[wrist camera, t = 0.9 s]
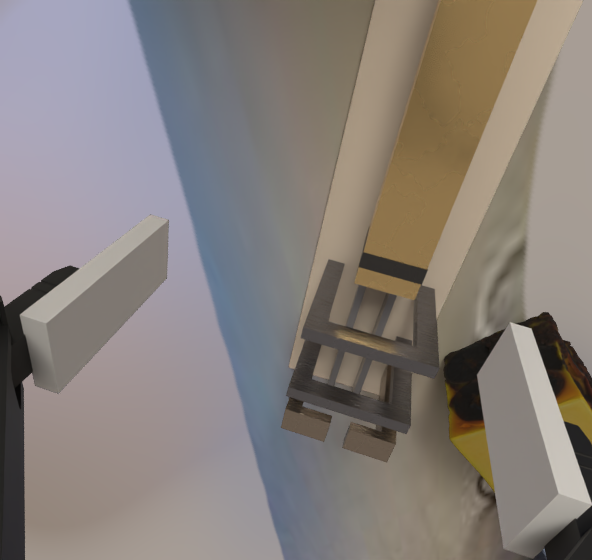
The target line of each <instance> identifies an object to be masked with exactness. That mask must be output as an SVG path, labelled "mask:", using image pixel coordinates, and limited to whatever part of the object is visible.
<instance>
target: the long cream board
mask: <svg viewBox="0 0 592 560" xmlns="http://www.w3.org/2000/svg"><path fill="white" fill-rule="evenodd" d="M582 2H583V0H537V3H536V5H535V7H534V10H533V12H532V15H531V17H530V20H529V22H528V25H527V27H526V29H525V32H524V34H523V37H522V39H521V42H520V44H519V47H518V49H517V51H516V54H515V56H514V59H513V61H512V64H511V66H510V68H509V71H508V73H507V76H506V78H505V81H504V83H503V86H502V88H501V90H500V93H499V95H498V98H497V100H496V103H495V105H494V108H493V110H492V112H491V115H490V117H489V120H488V122H487V125H486V127H485V130H484V132H483V134H482V137H481V139H480V142H479V144H478V147H477V149H476V152H475V154H474V156H473V159H472V161H471V164H470V166H469V169H468V171H467V173H466V176H465V178H464V181H463V183H462V186H461V188H460V191H459V193H458V195H457V198H456V200H455V203H454V205H453V208H452V210H451V213H450V215H449V217H448V220H447V222H446V225H445V227H444V230H443V232H442V235H441V237H440V239H439V242H438V244H437V247H436V249H435V252H434V254H433V257H432V259H431V261H430V264H429V266H428V271H427V274H426V276H425V278H424V281H423V283H422V285H423V286H426V287H430V288H433V289H435V302H436V319H437V318H438V316H439V314H440V312H441V309H442V307H443V305H444V303H445V301H446V299H447V296H448V294H449V292H450V290H451V288H452V285H453V283H454V281H455V279H456V277H457V275H458V272H459V270H460V268H461V266H462V264H463V262H464V259H465V257H466V255H467V253H468V251H469V248H470V246H471V244H472V242H473V240H474V238H475V235H476V233H477V231H478V229H479V227H480V225H481V222H482V220H483V218H484V216H485V214H486V211H487V209H488V207H489V205H490V203H491V201H492V198H493V196H494V194H495V192H496V190H497V188H498V185H499V183H500V181H501V179H502V177H503V174H504V172H505V170H506V168H507V166H508V164H509V161H510V159H511V157H512V155H513V153H514V151H515V148H516V146H517V144H518V142H519V140H520V137H521V135H522V133H523V131H524V129H525V127H526V124H527V122H528V120H529V118H530V116H531V113H532V111H533V109H534V107H535V105H536V103H537V100H538V98H539V96H540V94H541V92H542V90H543V87H544V85H545V83H546V81H547V79H548V76H549V74H550V72H551V70H552V68H553V66H554V63H555V61H556V59H557V57H558V55H559V53H560V50H561V48H562V46H563V44H564V41H565V39H566V37H567V35H568V33H569V31H570V29H571V26H572V24H573V22H574V20H575V18H576V16H577V13H578V11H579V9H580V7H581V4H582ZM437 3H438V0H375V4H374V8H373V12H372V17H371V21H370V25H369V29H368V33H367V38H366V42H365V46H364V50H363V55H362V59H361V63H360V67H359V71H358V76H357V80H356V84H355V88H354V93H353V97H352V101H351V105H350V110H349V114H348V118H347V122H346V126H345V131H344V135H343V139H342V143H341V148H340V152H339V156H338V160H337V164H336V169H335V173H334V177H333V181H332V186H331V190H330V194H329V198H328V203H327V207H326V211H325V215H324V219H323V224H322V228H321V232H320V236H319V241H318V245H317V249H316V253H315V257H314V262H313V266H312V270H311V274H310V279H309V283H308V287H307V291H306V296H305V300H304V304H303V308H302V312H301V317H300V321H299V325H298V329H297V334H296V338H295V342H294V346H293V350H292V355H291V359H290V363H289V368H292V369H295V367H296V364H297V361H298V359H299V356H300V353H301V350H302V347H303V344H304V342H305V339H301V334H302V330H303V326H304V324H305V321H306V318H307V316H308V313H309V310H310V308H311V305H312V302H313V299H314V297H315V294H316V291H317V289H318V286H319V283H320V281H321V278H322V275H323V273H324V270H325V267H326V265H327V262H328V259H330V260H334V261H337V262H341V263H344V264H345V265H344V269H343V272H342V276H341V279H340V282H339V286H338V289H337V293H336V296H335V299H334V303H333V306H332V309H331V313H330V318H329V321H330V322H333V323H336V324H340V325H343V326H347V327H350V328H353V329H357V330H360V331H363V332H367V333H370V334H374V335H377V336H380V337H384V338H387V339H391V340H394V341H395V339H396V336H398V337H402V338H405V339H408V340H412V346H413V313H414V300H411V299H408V298H404V297H401V296H397V295H394V294H390V293H387V292H383V291H380V290H376V289H373V288H369V287H366V286H362V285H358V284H355V283H354V281H355V277H356V273H357V269H358V265H359V261H360V257H361V253H362V250H363V245H364V241H365V238H366V234H367V231H368V228H369V226H370V224H371V220H372V217H373V214H374V210H375V207H376V204H377V200H378V197H379V194H380V191H381V187H382V184H383V181H384V177H385V174H386V171H387V168H388V164H389V161H390V158H391V154H392V151H393V148H394V145H395V141H396V138H397V135H398V131H399V128H400V125H401V122H402V118H403V115H404V112H405V108H406V105H407V102H408V98H409V95H410V92H411V89H412V85H413V82H414V79H415V75H416V72H417V69H418V66H419V62H420V59H421V56H422V52H423V49H424V46H425V43H426V39H427V36H428V33H429V29H430V26H431V23H432V20H433V16H434V13H435V10H436V6H437ZM386 365H387V364H384V363H381V362H378V361H374V360H371V359H368V358H364V357H361V356H358V355H354V354H351V353H348V352H344V351H341V350H338V349H335V348H331V347H328V346H325V345H321V349H320V352H319V356H318V359H317V362H316V366H315V369H314V372H313V375H315V376H318V377H321V378H325V379H328V383H327V384H328V385H331V386H334V384H335V382H338V383H341V384H344V385H347V386H350V387H352V392H354V393H357V394H360V392H361V390H363V391H366V392H370V393H373V394H376V395H379V392H380V383H381V377H382V375H383V372H384V370H385V367H386ZM412 373H413V372H412Z"/></svg>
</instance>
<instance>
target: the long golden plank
mask: <svg viewBox="0 0 592 560" xmlns="http://www.w3.org/2000/svg"><path fill="white" fill-rule="evenodd" d="M536 3H537V0H438V3H437V6H436V10H435V13H434V16H433V20H432V23H431V26H430V29H429V33H428V36H427V39H426V43H425V46H424V49H423V52H422V56H421V59H420V62H419V66H418V69H417V72H416V75H415V79H414V82H413V85H412V89H411V92H410V95H409V98H408V102H407V105H406V108H405V112H404V115H403V118H402V122H401V125H400V128H399V131H398V135H397V138H396V141H395V145H394V148H393V151H392V154H391V158H390V161H389V164H388V168H387V171H386V174H385V177H384V181H383V184H382V187H381V191H380V194H379V197H378V200H377V204H376V207H375V210H374V214H373V217H372V220H371V224H370V226H369V228H368V231H367V234H366V238H365V241H364V245H363V250H362V253H361V257H360V261H359V265H358V269H357V273H356V277H355V281H354V283H355V284H358V285H362V286H366V287H369V288H373V289H376V290H380V291H383V292H387V293H390V294H394V295H397V296H401V297H404V298H408V299H411V300H415V298H416V296H417V293H418V291H419V288H420V286H421V285H422V283H423V281H424V278H425V276H426V274H427V271H428V266H429V264H430V261H431V259H432V257H433V254H434V252H435V249H436V247H437V244H438V242H439V239H440V237H441V235H442V232H443V230H444V227H445V225H446V222H447V220H448V217H449V215H450V213H451V210H452V208H453V205H454V203H455V200H456V198H457V195H458V193H459V191H460V188H461V186H462V183H463V181H464V178H465V176H466V173H467V171H468V169H469V166H470V164H471V161H472V159H473V156H474V154H475V152H476V149H477V147H478V144H479V142H480V139H481V137H482V134H483V132H484V130H485V127H486V125H487V122H488V120H489V117H490V115H491V112H492V110H493V108H494V105H495V103H496V100H497V98H498V95H499V93H500V90H501V88H502V86H503V83H504V81H505V78H506V76H507V73H508V71H509V68H510V66H511V64H512V61H513V59H514V56H515V54H516V51H517V49H518V47H519V44H520V42H521V39H522V37H523V34H524V32H525V29H526V27H527V25H528V22H529V20H530V17H531V15H532V12H533V10H534V7H535V5H536Z"/></svg>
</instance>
